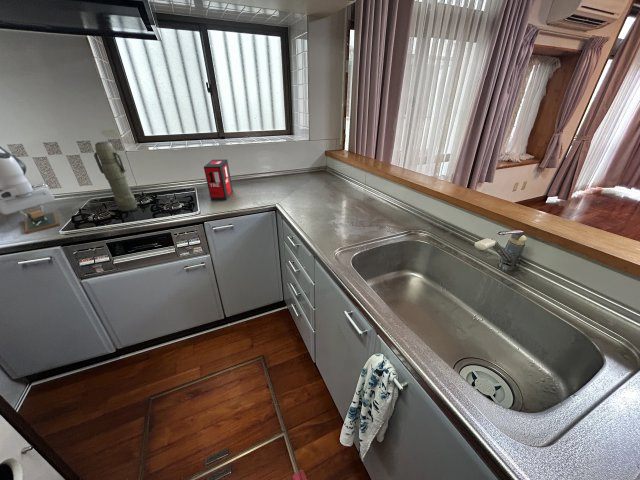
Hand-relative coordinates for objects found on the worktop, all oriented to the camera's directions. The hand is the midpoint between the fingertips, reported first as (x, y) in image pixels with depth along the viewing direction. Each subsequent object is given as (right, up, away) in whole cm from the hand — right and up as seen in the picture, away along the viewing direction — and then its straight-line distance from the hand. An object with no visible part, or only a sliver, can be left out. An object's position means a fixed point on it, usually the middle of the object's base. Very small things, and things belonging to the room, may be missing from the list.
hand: (35, 215), depth 132 cm
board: (+3, -4, 0) cm, 5 cm away
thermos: (+35, +5, +16) cm, 39 cm away
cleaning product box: (+81, +15, +32) cm, 89 cm away
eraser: (0, -1, +1) cm, 2 cm away
